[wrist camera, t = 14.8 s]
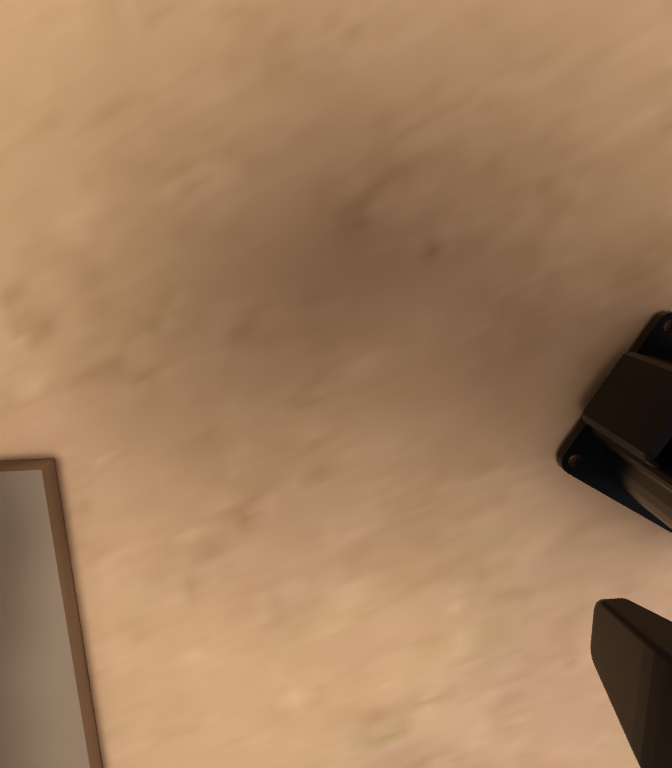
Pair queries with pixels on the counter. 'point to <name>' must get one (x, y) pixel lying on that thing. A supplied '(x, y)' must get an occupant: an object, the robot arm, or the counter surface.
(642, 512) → the robot arm
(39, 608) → the shelf board
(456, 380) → the counter surface
